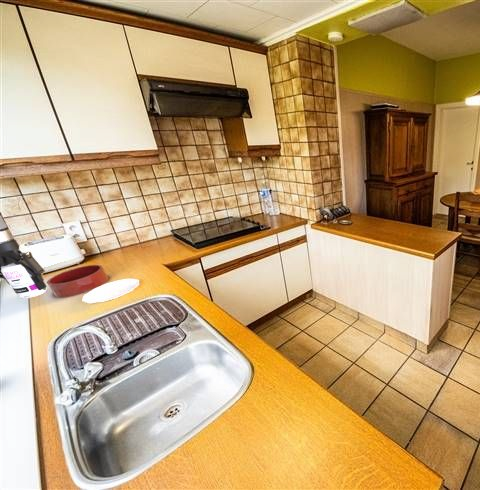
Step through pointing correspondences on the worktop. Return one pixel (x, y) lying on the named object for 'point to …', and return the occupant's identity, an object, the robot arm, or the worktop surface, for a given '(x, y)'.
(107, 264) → the worktop surface
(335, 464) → the worktop surface
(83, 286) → the red round shallow bowl
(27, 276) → the supplement can
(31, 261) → the robot arm
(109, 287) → the plate
